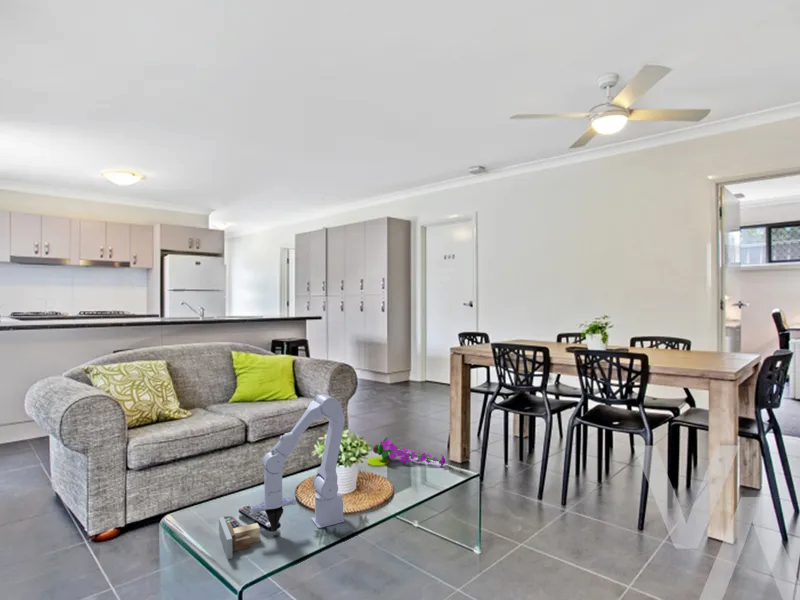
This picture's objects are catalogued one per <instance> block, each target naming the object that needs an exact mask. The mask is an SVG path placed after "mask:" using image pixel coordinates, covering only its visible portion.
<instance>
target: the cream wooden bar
mask: <svg viewBox="0 0 800 600" xmlns="http://www.w3.org/2000/svg"><path fill="white" fill-rule="evenodd" d="M241 526H242V527H240V526H237V527H238V528H236V527H232V528H233V530H234V533H235V538H238V537H242V536H246V535H249V536H250V544H252V543H257V542H261V527H260V525H259V523H258V522H255V523H251V524H246V525H245V526H244V525H241Z"/></svg>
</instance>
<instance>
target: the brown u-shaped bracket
mask: <svg viewBox="0 0 800 600" xmlns="http://www.w3.org/2000/svg"><path fill="white" fill-rule="evenodd" d="M226 524H227V526H228V529H229V531H230V534H231V537H232V553H233V552H237V551H241V550H245V549H247V548H251V543H250V536H249V535H246V536H242V537H238V538H235V533H234V530H233V528H234V527H233V525H232V524H231V522H228V523H227V522H226ZM242 526H246V525H239V526H237V527H235V528H238V527H242Z"/></svg>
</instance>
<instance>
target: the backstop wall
mask: <svg viewBox="0 0 800 600" xmlns="http://www.w3.org/2000/svg"><path fill="white" fill-rule="evenodd" d="M218 537H219V540H220V543H221V546H222V548H223V551H224V554H225V556H226V557H225V558H226V560H230V559H231V560H232V559H233V552H232V537H231V534H230V531H229V529H228V526H227V522H226V519H225V517H224V516H222V517H218Z"/></svg>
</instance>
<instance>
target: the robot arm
mask: <svg viewBox="0 0 800 600" xmlns="http://www.w3.org/2000/svg"><path fill="white" fill-rule="evenodd" d="M342 409H343V408H342V404H341V403H340V401H339V400H338V399H337V398H336V397H332V396H331V395H329V394H327V393H326V392H321V393H318V394H317V395H316V396H315V397H314V399H313V400H312V401H310V402H309V405H308V407H307V409H306V410H305V412H304V413H303V414H302V416H301V417H300V418H299V420H298V421H297V422H296V424H295V425H294V427H293V428H292V429H291V430H290V431H289V432H285V433H284V434H283V435H279V440H278V441H277V443H276V444H275V445H274V446H273V448H270V449H269V452H267V453H265V455H264V456H263V459H262V460H261V464H262V466H263V467H264V476H263V477H264V481H263V482H264V483H263V484H264V485H263V486H264V501H262V502H260V503H257V504H254V505H251V506H250V513H251V515H256V513H260V512H265V514H266V517H267V519H268V521H269V524H270V531H271V532H273V533H274V532H277V531H278V526H279V522H280V519H281V518H282V515H283V514H284V508H283V507H286V506H292V505H293V506H295V505H297V499H296V497H295V496H291V497H283V469H284V468H285V465H286V463H285V462H286V460H287V459H288V458H289V456H290V455H291V454H292V452H293V451H294V450H295V449H296V448H297V446H298V445H299V438H300V437H301V436H302V434H304V433H305V431H306V430H307V429H308V428H309V427H310V426H311V424H312V423H313V422H315V421H316V420H320V419H327V421H328V427H327V431H326V438H325V443H324V448H323V453H322V458H321V464H320V466H319V468H317V471H316V474H315V476H314V477H313V479H312V487H313V489H315V493H314V516H312V517H311V518H310V520H311V521H312V522H313V523H314V525H315V526H316V527H317V528H318V529H322V528H326V527H329V526H332V525H333V526H334V525H336V524H340V523H344V522H345V519H344V500H343V496H342V494H341V493H340V492H339V485H338V473H337V466H338V465H337V464H338V459H339V455H340V448H341V442H342V437H343V432H344V427H345V421H346V417H345V414H344V412H343V410H342Z"/></svg>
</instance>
